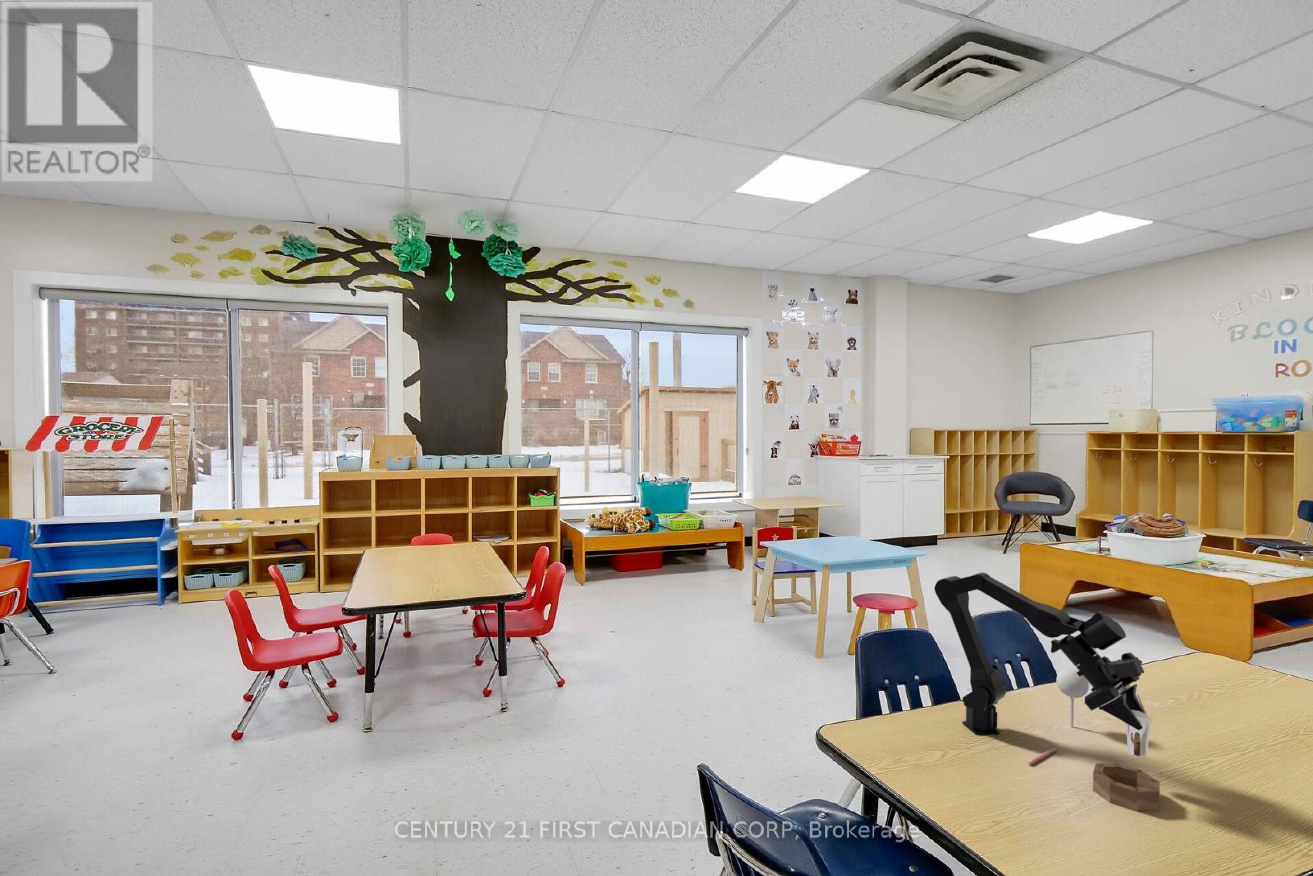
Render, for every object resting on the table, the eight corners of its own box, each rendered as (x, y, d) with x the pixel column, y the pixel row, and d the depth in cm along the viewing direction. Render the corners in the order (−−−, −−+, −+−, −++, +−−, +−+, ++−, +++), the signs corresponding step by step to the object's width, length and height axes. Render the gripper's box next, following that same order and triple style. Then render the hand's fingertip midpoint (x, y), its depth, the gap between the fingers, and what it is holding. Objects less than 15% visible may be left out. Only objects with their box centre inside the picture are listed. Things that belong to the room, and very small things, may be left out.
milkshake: (1115, 747, 141) (1116, 703, 141) (1140, 748, 141) (1141, 704, 140) (1129, 759, 137) (1130, 713, 136) (1155, 759, 136) (1156, 713, 136)
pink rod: (1030, 766, 146) (1031, 762, 146) (1027, 764, 146) (1027, 761, 146) (1056, 751, 153) (1056, 747, 153) (1053, 749, 154) (1053, 746, 154)
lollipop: (1078, 721, 169) (1079, 665, 169) (1094, 734, 162) (1095, 675, 162) (1050, 720, 170) (1051, 664, 170) (1064, 732, 163) (1065, 674, 163)
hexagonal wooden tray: (1122, 812, 128) (1122, 792, 128) (1081, 782, 139) (1082, 763, 139) (1173, 810, 129) (1173, 790, 129) (1128, 780, 140) (1128, 762, 140)
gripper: (1103, 651, 135) (1166, 721, 127) (1129, 634, 147) (1189, 698, 139) (1060, 676, 142) (1118, 745, 133) (1089, 658, 153) (1143, 720, 145)
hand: (1144, 726), depth 137 cm, fingers closed on milkshake, 4 cm apart
